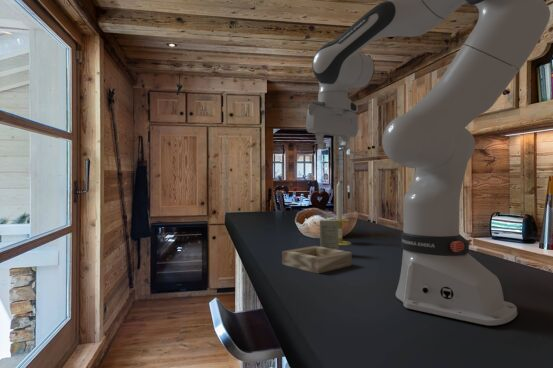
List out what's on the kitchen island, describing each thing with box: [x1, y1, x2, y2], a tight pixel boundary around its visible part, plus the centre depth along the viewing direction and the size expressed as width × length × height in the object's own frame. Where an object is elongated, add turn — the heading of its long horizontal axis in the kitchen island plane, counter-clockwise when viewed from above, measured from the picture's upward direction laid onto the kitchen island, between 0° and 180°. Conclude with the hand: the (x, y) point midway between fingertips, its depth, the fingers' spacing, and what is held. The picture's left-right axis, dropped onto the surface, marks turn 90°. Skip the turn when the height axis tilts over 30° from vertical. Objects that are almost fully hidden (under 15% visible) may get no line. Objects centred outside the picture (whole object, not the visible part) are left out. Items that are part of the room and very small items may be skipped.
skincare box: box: [319, 219, 340, 250], centre depth 124 cm, size 6×4×12 cm
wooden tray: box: [281, 245, 353, 274], centre depth 108 cm, size 15×15×4 cm
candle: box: [328, 179, 352, 246], centre depth 146 cm, size 10×10×27 cm
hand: (332, 150), depth 107 cm, fingers open, 8 cm apart
